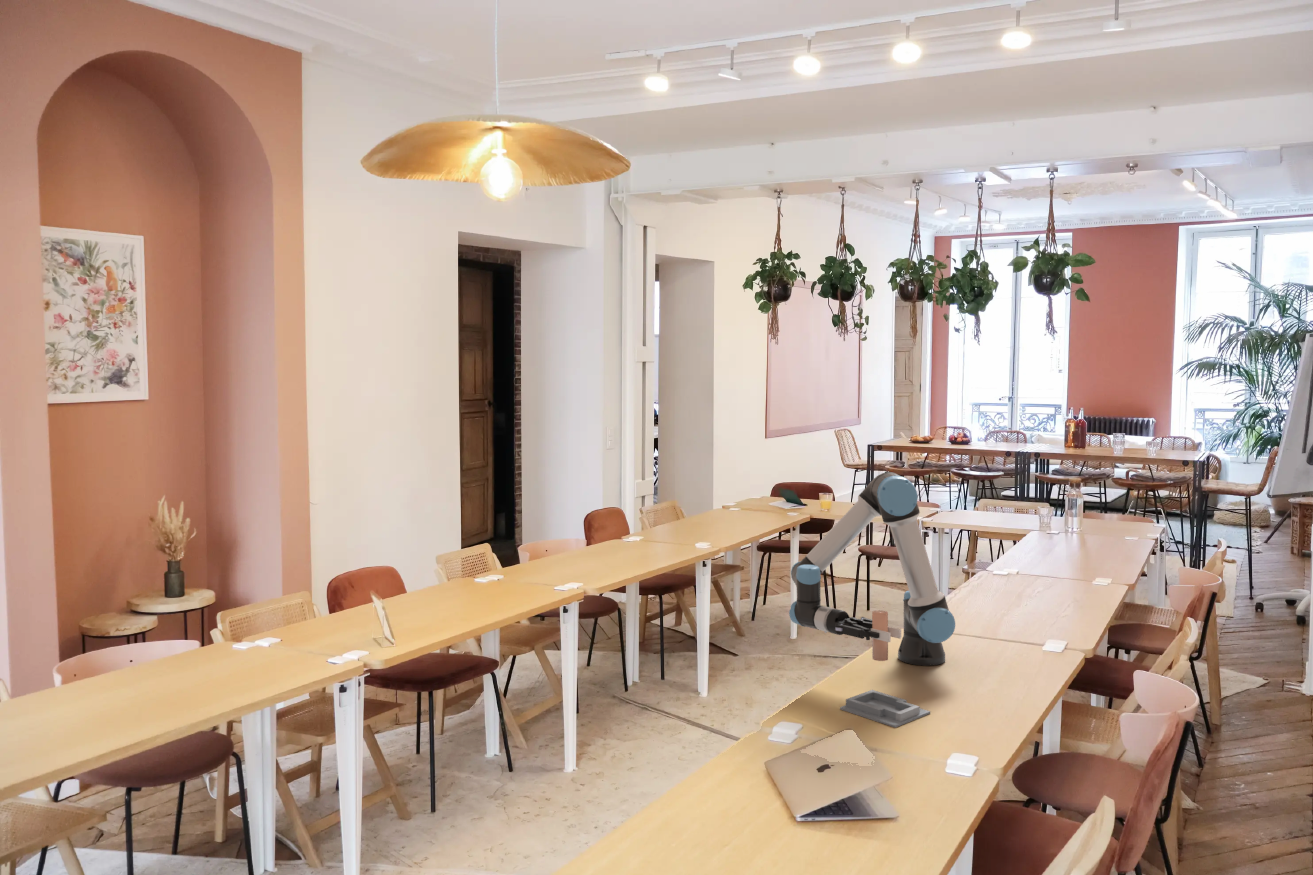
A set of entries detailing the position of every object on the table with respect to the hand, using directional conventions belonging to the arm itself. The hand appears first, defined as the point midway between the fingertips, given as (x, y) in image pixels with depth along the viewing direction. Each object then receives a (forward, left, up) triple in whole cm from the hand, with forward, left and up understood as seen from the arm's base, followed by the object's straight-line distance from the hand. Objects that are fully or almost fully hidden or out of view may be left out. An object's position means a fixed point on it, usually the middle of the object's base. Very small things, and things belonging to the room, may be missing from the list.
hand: (895, 635), depth 285 cm
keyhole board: (+11, +5, -19) cm, 22 cm away
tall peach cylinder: (0, -5, -8) cm, 10 cm away
